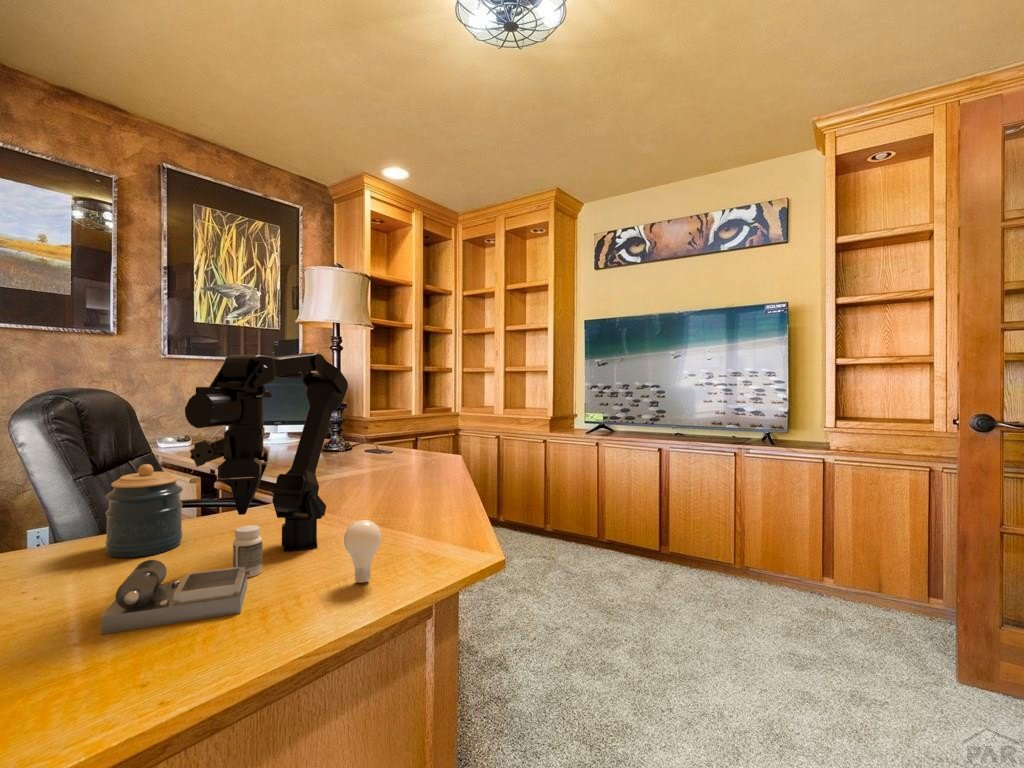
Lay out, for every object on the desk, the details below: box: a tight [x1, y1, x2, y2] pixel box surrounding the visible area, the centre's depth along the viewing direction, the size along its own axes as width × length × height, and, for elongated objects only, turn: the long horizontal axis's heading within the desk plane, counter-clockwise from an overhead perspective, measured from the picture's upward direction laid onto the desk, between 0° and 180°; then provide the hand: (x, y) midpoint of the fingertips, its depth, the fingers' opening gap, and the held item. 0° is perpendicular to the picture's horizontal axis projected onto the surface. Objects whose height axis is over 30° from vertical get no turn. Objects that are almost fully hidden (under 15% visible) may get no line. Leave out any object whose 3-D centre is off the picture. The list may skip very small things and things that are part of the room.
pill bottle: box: [232, 524, 263, 579], centre depth 90 cm, size 5×5×8 cm
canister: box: [105, 463, 184, 559], centre depth 103 cm, size 13×13×18 cm
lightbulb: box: [343, 519, 382, 584], centre depth 87 cm, size 6×6×11 cm
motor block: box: [100, 559, 248, 636], centre depth 76 cm, size 17×11×7 cm, turn 113°
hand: (245, 508), depth 91 cm, fingers open, 9 cm apart
